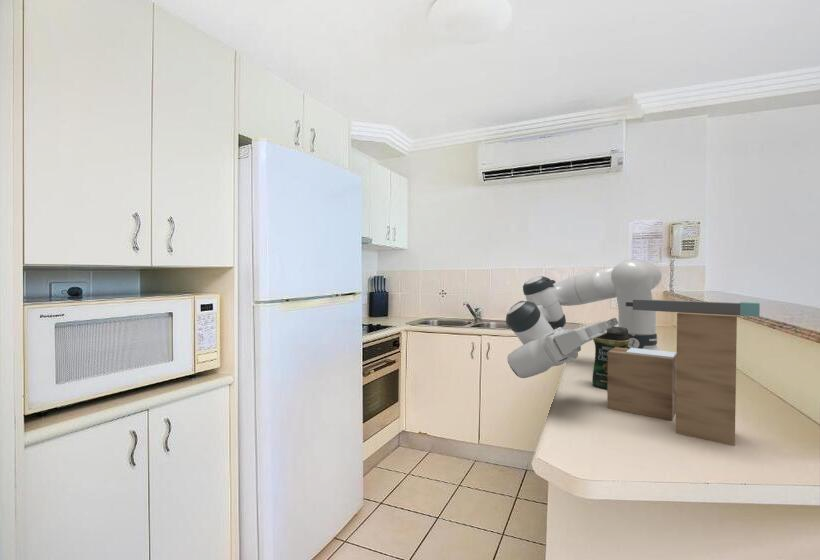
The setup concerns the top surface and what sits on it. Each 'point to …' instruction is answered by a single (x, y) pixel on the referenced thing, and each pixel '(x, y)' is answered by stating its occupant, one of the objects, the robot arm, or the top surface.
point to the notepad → (651, 353)
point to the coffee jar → (602, 346)
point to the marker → (697, 307)
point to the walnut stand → (683, 379)
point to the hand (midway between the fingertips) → (612, 322)
